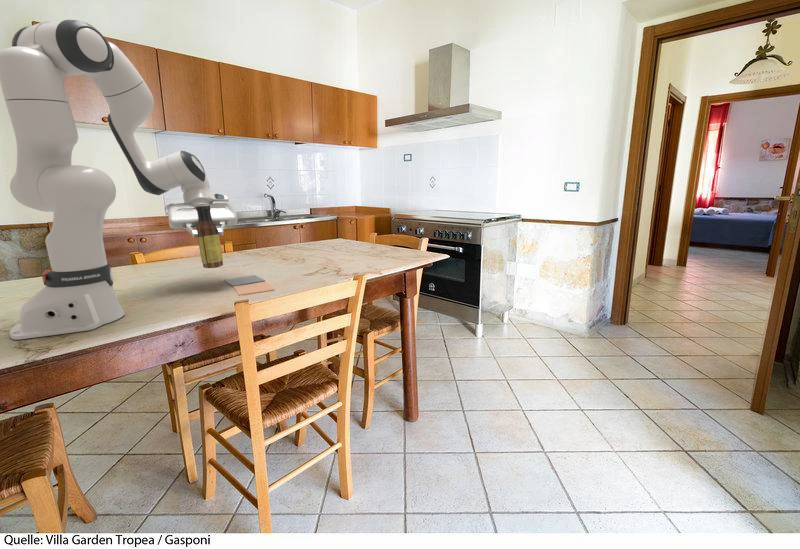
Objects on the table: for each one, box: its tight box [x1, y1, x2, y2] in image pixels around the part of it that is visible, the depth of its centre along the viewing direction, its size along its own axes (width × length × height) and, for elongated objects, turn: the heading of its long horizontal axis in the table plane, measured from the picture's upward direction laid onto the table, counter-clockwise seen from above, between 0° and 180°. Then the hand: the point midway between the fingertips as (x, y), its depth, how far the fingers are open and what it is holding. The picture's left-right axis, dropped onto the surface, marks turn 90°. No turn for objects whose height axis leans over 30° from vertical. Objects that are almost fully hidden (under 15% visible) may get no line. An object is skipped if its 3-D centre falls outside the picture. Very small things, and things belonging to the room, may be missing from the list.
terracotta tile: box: [233, 281, 275, 297], centre depth 129 cm, size 11×11×1 cm
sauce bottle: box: [195, 205, 224, 269], centre depth 125 cm, size 6×6×20 cm
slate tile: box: [223, 274, 266, 288], centre depth 140 cm, size 11×11×1 cm
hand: (208, 235), depth 124 cm, fingers closed on sauce bottle, 6 cm apart
